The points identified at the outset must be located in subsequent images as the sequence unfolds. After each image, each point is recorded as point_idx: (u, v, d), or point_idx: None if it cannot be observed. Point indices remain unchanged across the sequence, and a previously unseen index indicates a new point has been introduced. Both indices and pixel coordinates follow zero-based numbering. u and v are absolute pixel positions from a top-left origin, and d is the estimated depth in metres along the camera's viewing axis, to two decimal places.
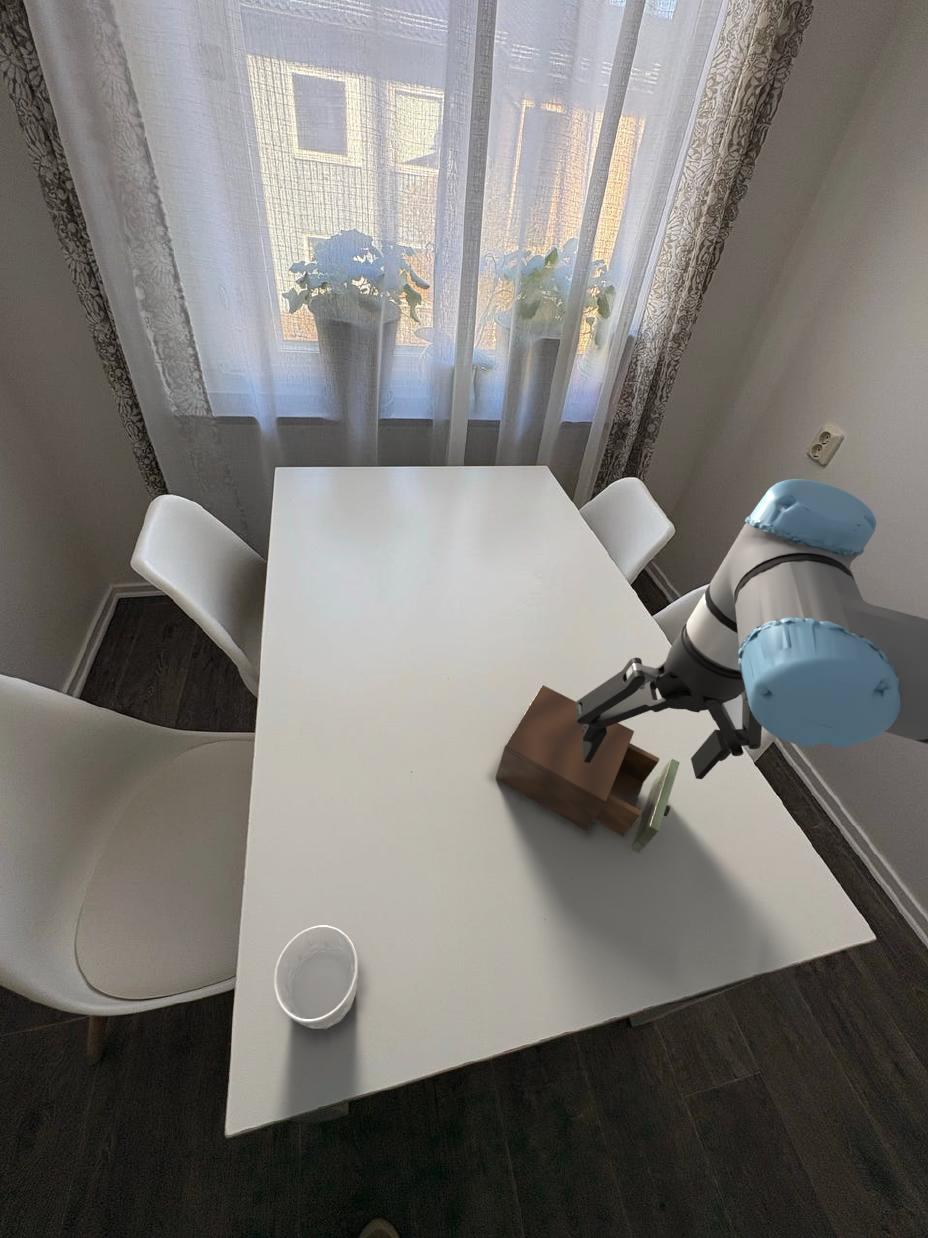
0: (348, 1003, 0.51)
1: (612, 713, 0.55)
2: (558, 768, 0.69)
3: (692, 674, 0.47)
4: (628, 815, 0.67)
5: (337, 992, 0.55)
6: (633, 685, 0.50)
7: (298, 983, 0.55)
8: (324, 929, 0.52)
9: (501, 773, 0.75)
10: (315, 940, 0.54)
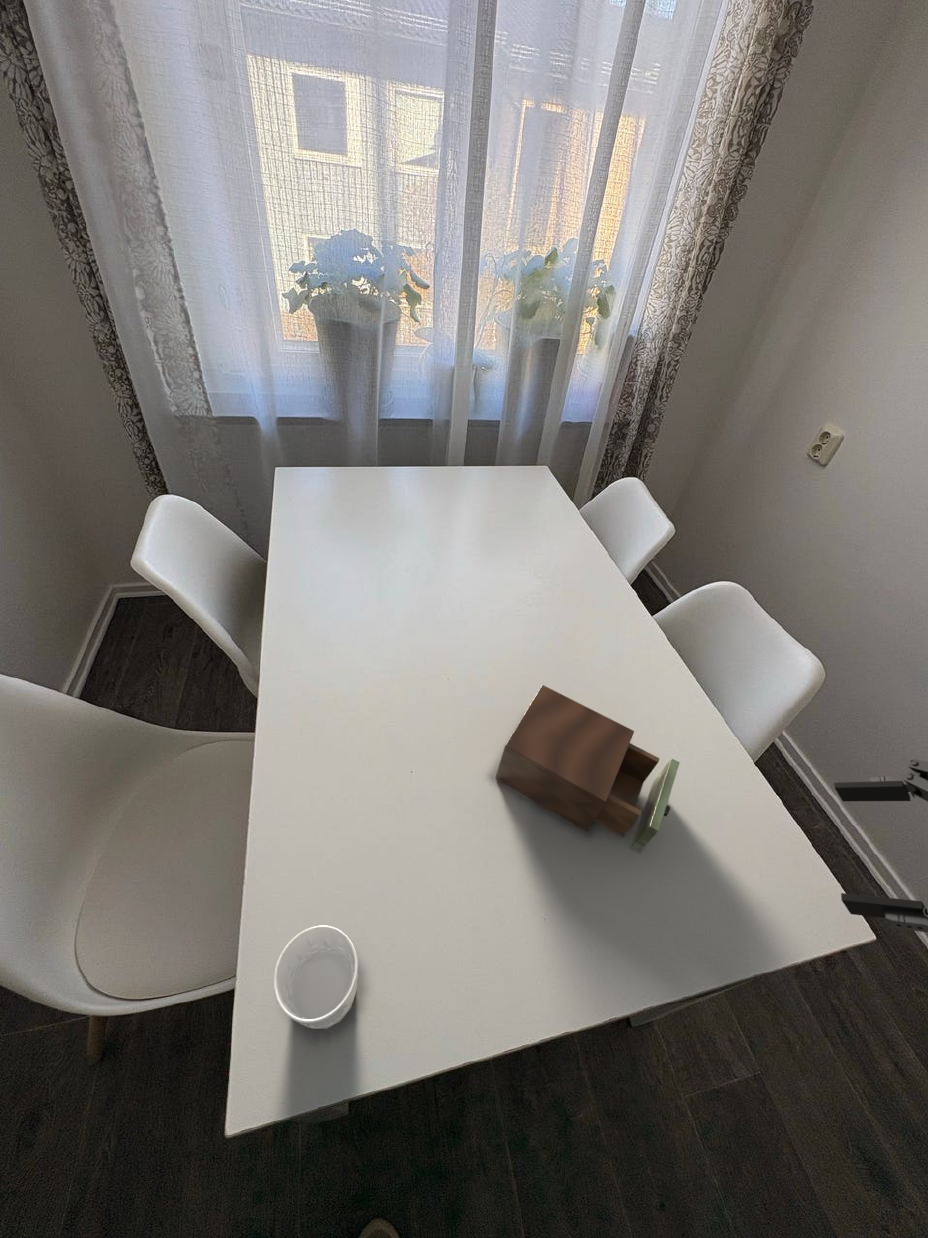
0: (348, 1003, 0.51)
1: None
2: (558, 768, 0.69)
3: None
4: (628, 815, 0.67)
5: (337, 992, 0.55)
6: None
7: (298, 983, 0.55)
8: (324, 929, 0.52)
9: (501, 773, 0.75)
10: (315, 940, 0.54)
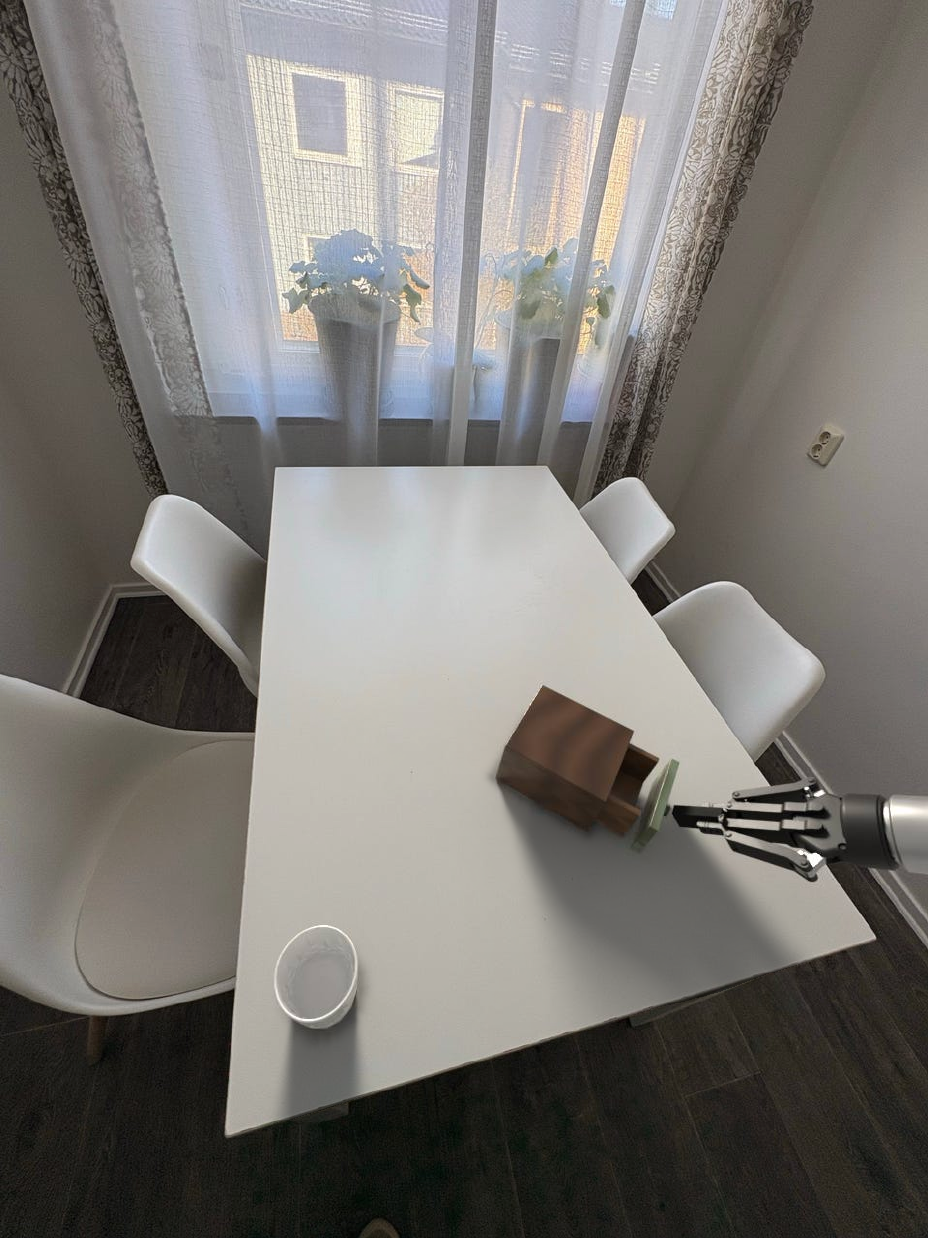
0: (348, 1003, 0.51)
1: None
2: (558, 768, 0.69)
3: (862, 794, 0.56)
4: (628, 815, 0.67)
5: (337, 992, 0.55)
6: (803, 783, 0.63)
7: (298, 983, 0.55)
8: (324, 929, 0.52)
9: (501, 773, 0.75)
10: (315, 940, 0.54)
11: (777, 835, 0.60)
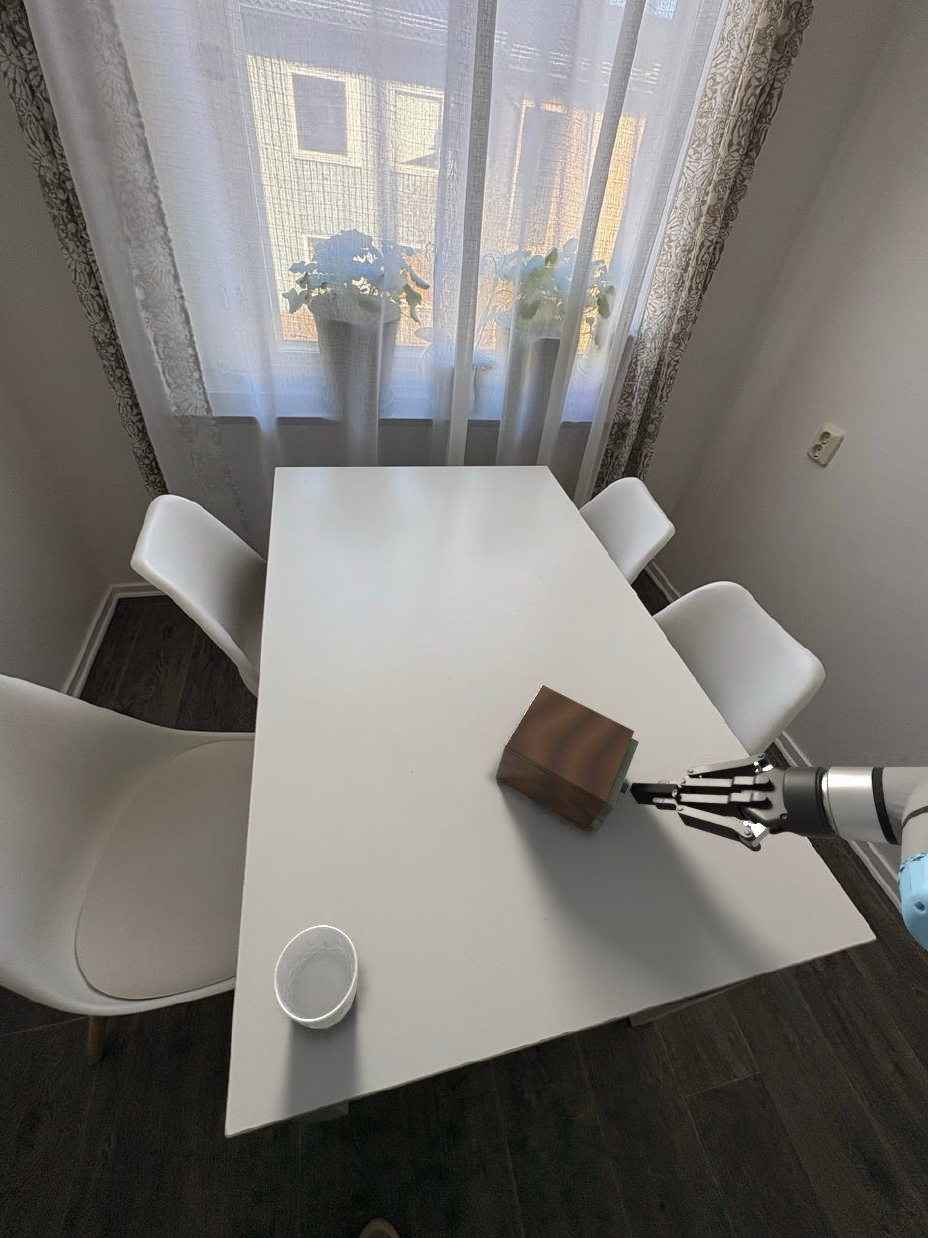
0: (348, 1003, 0.51)
1: None
2: (558, 768, 0.69)
3: None
4: None
5: (337, 992, 0.55)
6: (753, 758, 0.65)
7: (298, 983, 0.55)
8: (324, 929, 0.52)
9: (501, 773, 0.75)
10: (315, 940, 0.54)
11: (726, 808, 0.62)
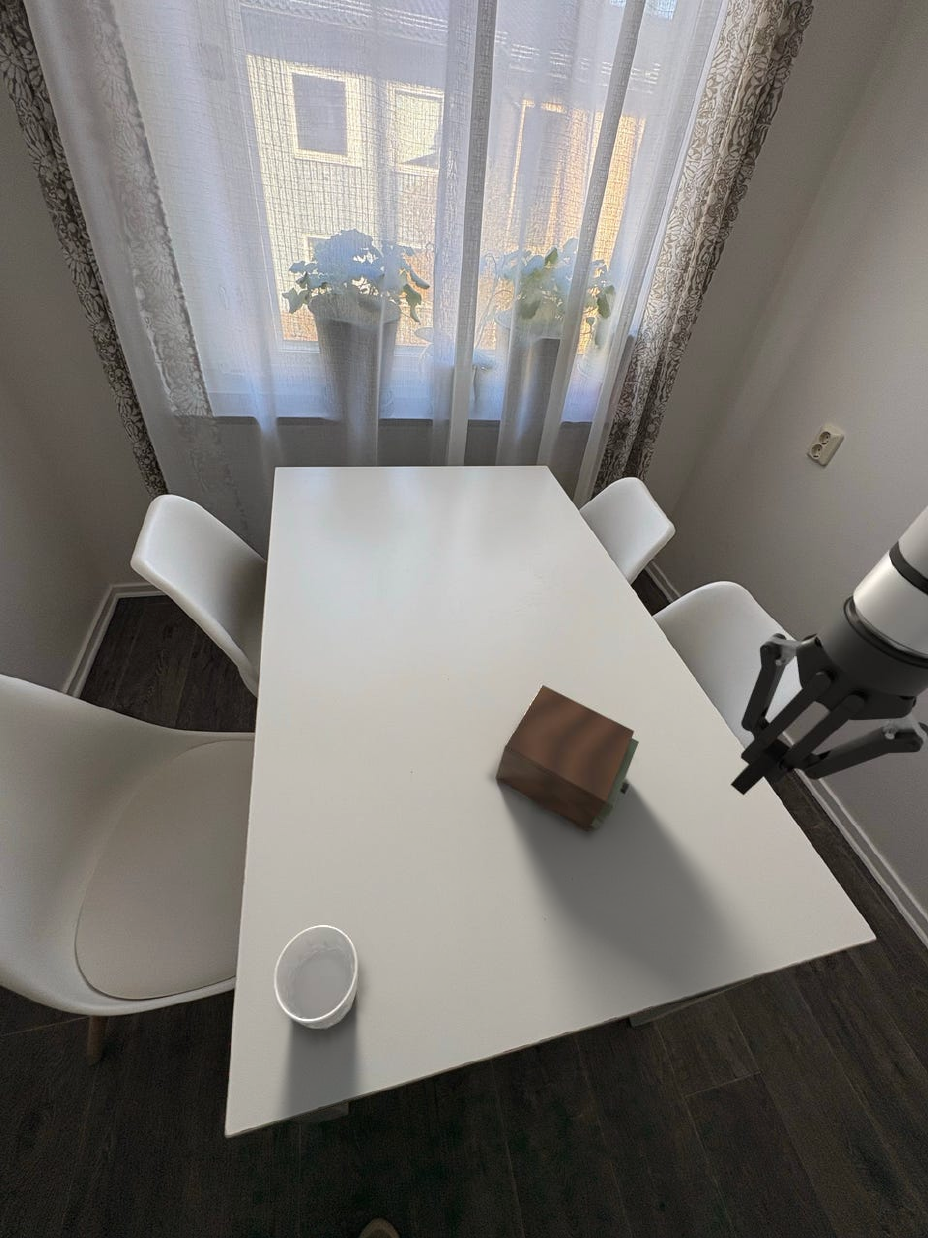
0: (348, 1003, 0.51)
1: (771, 721, 0.47)
2: (558, 768, 0.69)
3: (835, 635, 0.38)
4: None
5: (337, 992, 0.55)
6: (766, 660, 0.44)
7: (298, 983, 0.55)
8: (324, 929, 0.52)
9: (501, 773, 0.75)
10: (315, 940, 0.54)
11: None
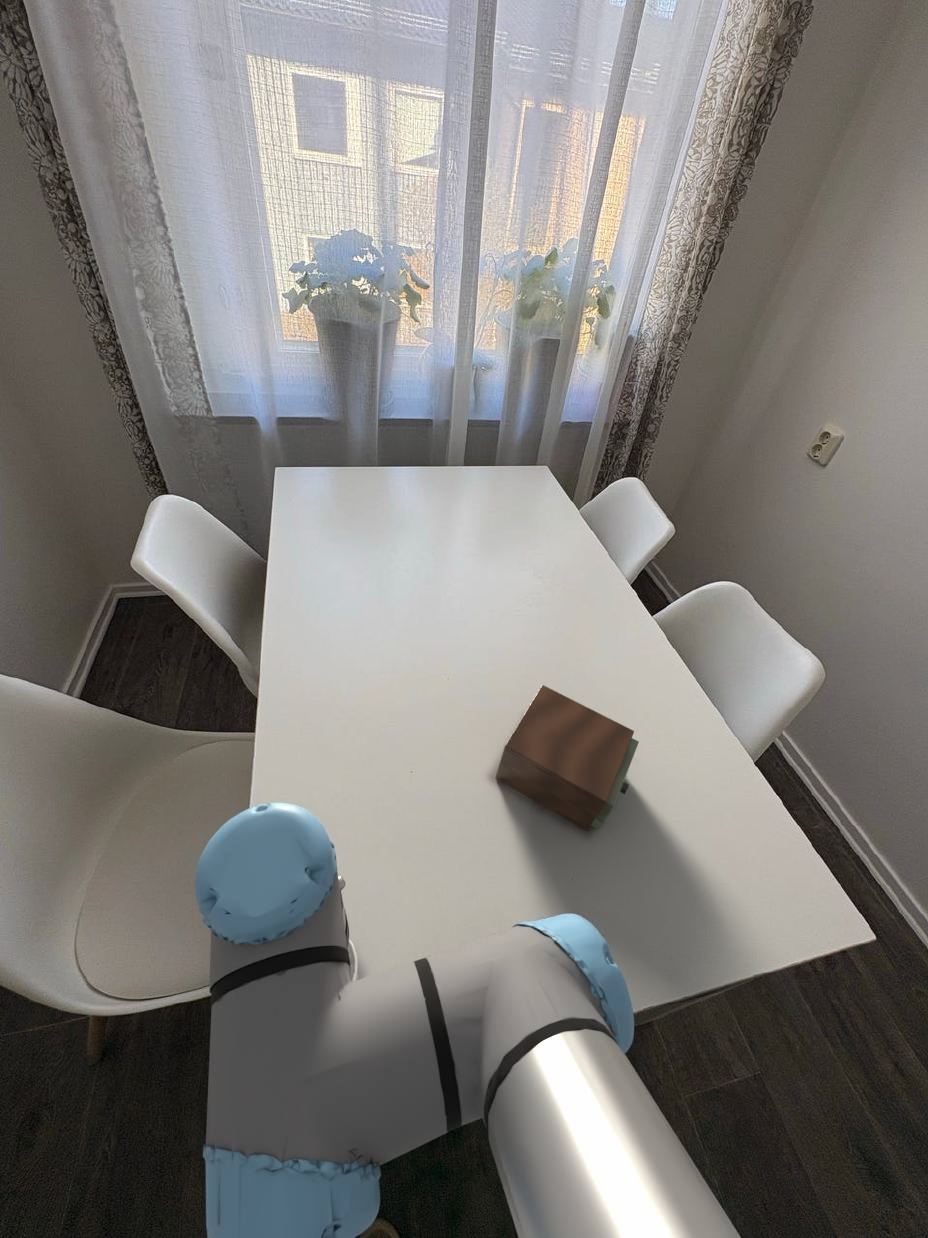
0: None
1: None
2: (558, 768, 0.69)
3: None
4: None
5: None
6: None
7: None
8: None
9: (501, 773, 0.75)
10: None
11: None
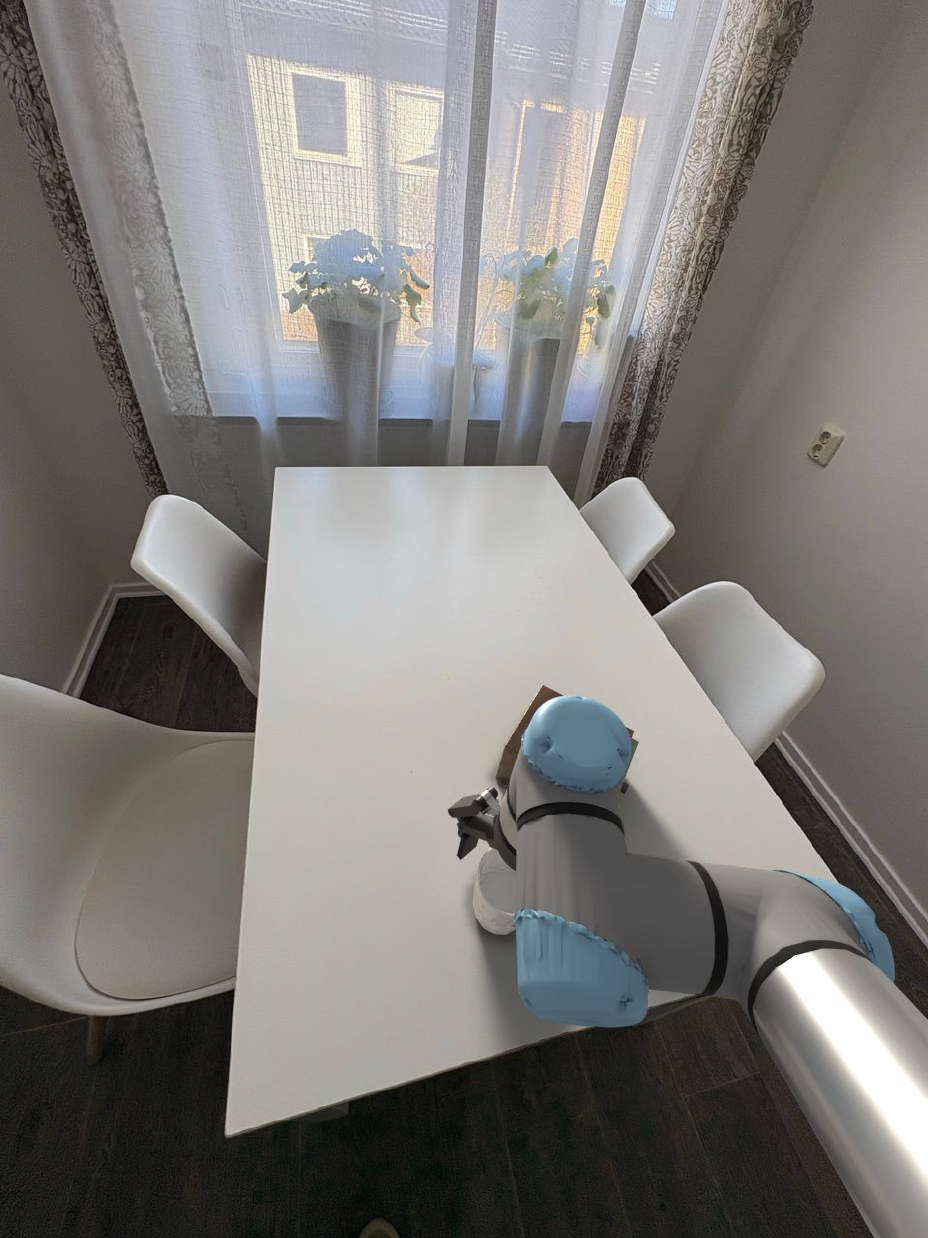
0: None
1: (471, 824, 0.58)
2: None
3: (495, 825, 0.48)
4: None
5: (513, 904, 0.63)
6: (475, 806, 0.54)
7: None
8: None
9: (501, 773, 0.75)
10: (497, 857, 0.62)
11: None
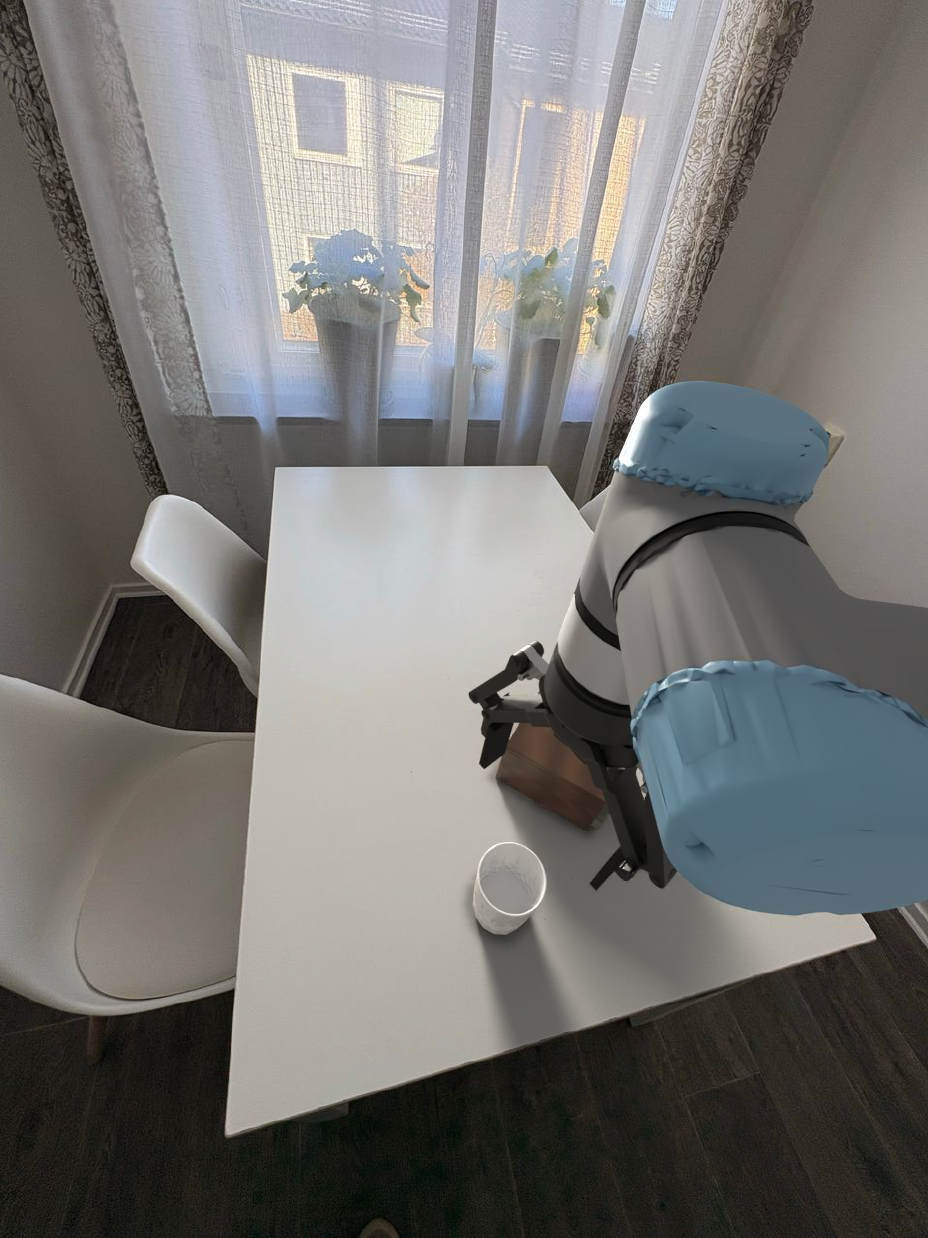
0: None
1: (502, 706, 0.42)
2: (558, 768, 0.69)
3: (548, 672, 0.32)
4: None
5: (513, 904, 0.63)
6: (511, 668, 0.38)
7: None
8: (510, 845, 0.60)
9: (501, 773, 0.75)
10: (497, 857, 0.62)
11: (624, 791, 0.35)
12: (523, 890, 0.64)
